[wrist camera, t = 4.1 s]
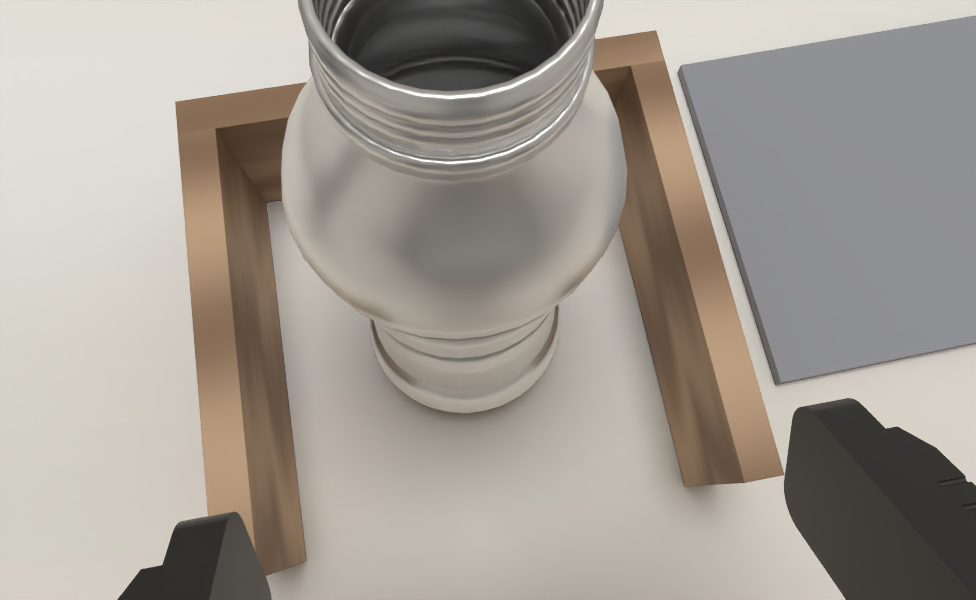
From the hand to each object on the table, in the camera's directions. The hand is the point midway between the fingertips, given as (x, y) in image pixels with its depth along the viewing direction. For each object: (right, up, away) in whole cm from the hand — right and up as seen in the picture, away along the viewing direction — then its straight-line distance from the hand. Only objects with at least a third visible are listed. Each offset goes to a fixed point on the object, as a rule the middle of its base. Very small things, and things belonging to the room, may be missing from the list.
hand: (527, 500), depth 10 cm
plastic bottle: (-1, +1, +18) cm, 18 cm away
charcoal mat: (+16, +8, +20) cm, 26 cm away
